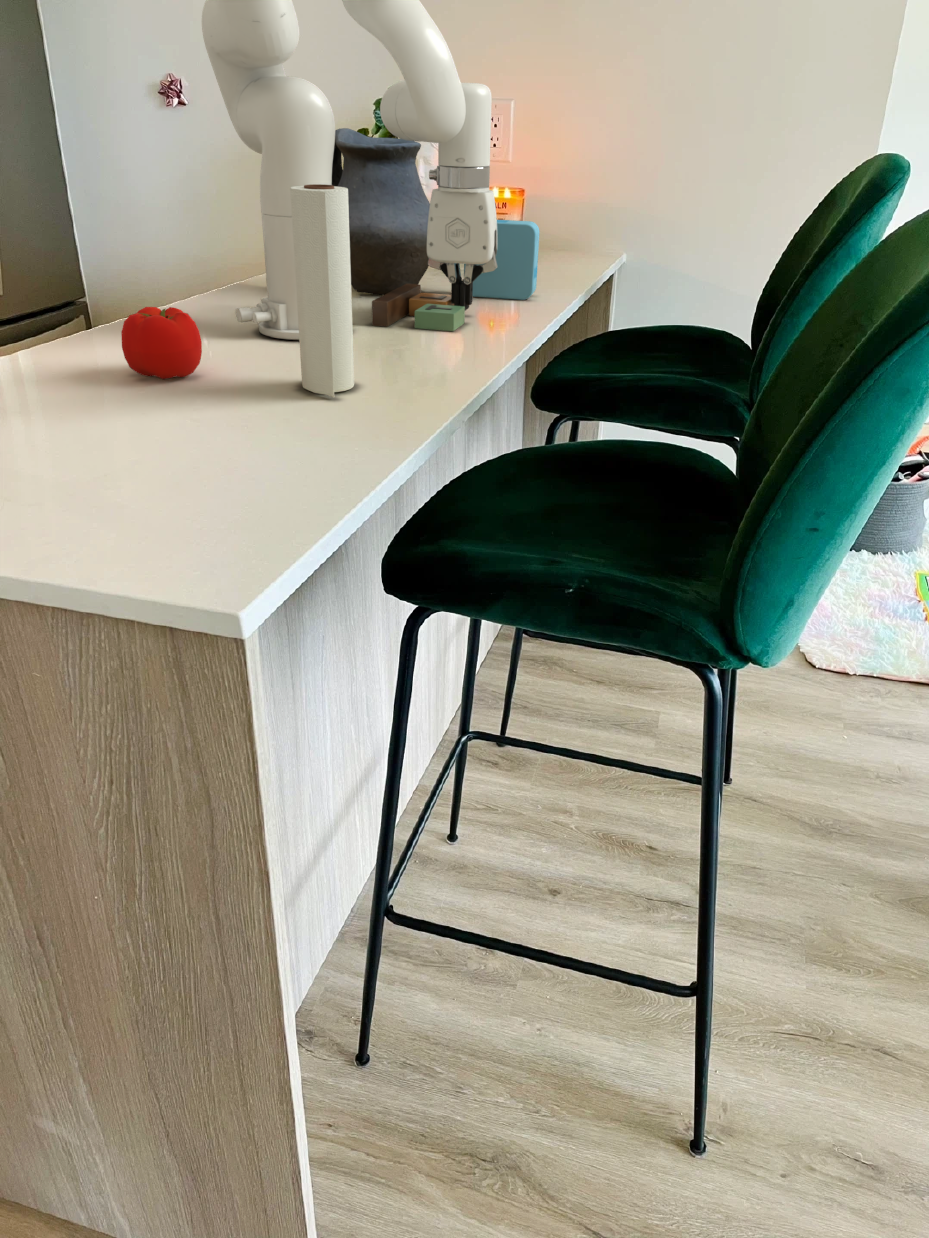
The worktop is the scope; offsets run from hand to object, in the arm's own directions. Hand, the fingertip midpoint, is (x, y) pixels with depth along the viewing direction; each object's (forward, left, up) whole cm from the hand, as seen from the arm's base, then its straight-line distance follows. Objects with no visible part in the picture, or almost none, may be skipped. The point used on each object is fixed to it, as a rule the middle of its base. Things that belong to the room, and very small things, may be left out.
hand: (461, 309), depth 147 cm
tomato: (-51, -11, -1) cm, 52 cm away
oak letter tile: (-3, +4, -1) cm, 5 cm away
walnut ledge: (-9, +5, -1) cm, 10 cm away
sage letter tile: (-7, -4, -1) cm, 8 cm away
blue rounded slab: (+16, +10, -1) cm, 19 cm away
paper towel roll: (-38, -26, -1) cm, 46 cm away
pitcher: (+1, +25, -1) cm, 25 cm away
